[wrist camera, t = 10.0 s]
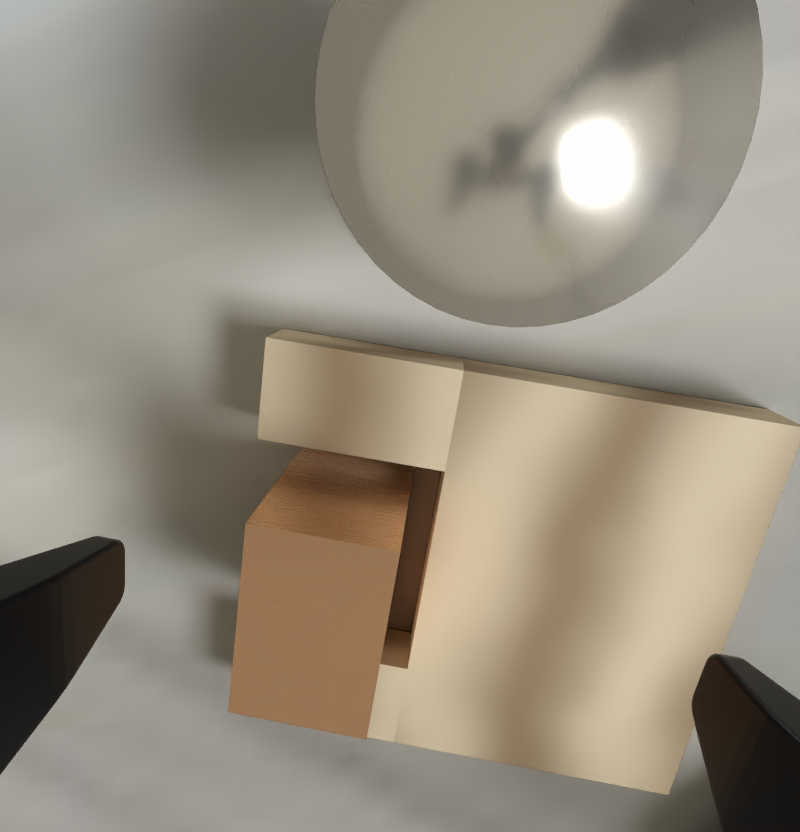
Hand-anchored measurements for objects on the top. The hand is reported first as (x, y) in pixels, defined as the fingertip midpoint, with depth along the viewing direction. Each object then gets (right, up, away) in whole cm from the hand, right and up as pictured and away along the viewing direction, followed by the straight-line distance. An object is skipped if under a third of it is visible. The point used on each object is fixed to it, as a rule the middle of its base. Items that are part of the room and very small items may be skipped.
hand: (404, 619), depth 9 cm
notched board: (+3, -2, +12) cm, 13 cm away
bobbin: (+3, +11, +9) cm, 14 cm away
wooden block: (-2, -1, +12) cm, 13 cm away
